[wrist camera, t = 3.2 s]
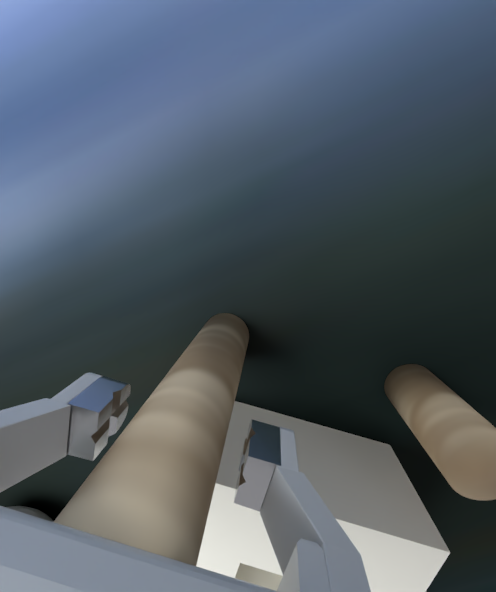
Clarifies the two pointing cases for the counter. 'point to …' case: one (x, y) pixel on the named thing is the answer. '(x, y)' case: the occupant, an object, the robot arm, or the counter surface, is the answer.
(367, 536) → the hole block
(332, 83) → the counter surface
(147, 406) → the long pin
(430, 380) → the short pin
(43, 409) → the robot arm
